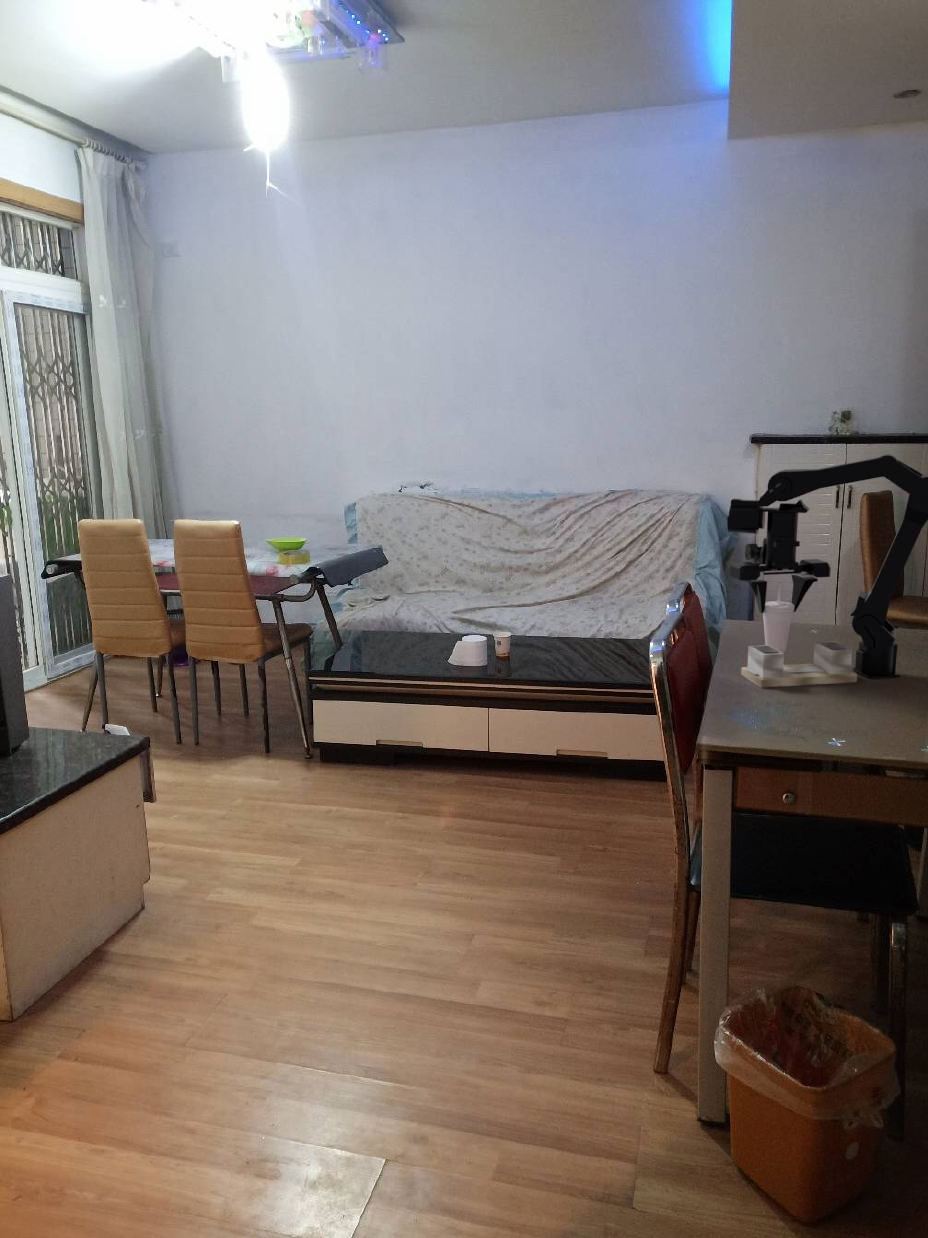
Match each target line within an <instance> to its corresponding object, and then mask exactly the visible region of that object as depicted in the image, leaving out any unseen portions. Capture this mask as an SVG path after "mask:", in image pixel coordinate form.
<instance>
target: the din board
mask: <svg viewBox="0 0 928 1238" xmlns="http://www.w3.org/2000/svg"><path fill="white" fill-rule="evenodd" d="M813 644H814V646H813V659H812V660H813V661H812V662H813V663H812V662H811V663H795V664H794V663H793V664H785V662H784V661H785V653H781V652H780V651H778V650H776V649H774V648H773V647H771V646H769V645H765V644H762V645H748V646H747V647H748V648H747V666H743V667H741V670H740V671H741V673H740V675H741V676H743V677H745V678H746V679H747V680H749V681H751V682H752V683H753V684H754V685H756V686H758V687H759V688H762V689H763V688H775V687H776V688H777V687H778V688H779V686H780V687H794V686H795V687H797V686H813V685H814V686H815V685H827V684H828V685H830V684H845V683H846V684H847V683H850V684H851V683H857V681H858V680H857V678H858V674H857V673H856V672H854V671H852V658H853V657H852V656H853V649H851V648H848V647H846V646H844V645H842V644H840V643H838V642H836V641H819V642H818V641H817V642H814V643H813Z"/></svg>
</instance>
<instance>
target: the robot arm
mask: <svg viewBox="0 0 928 1238" xmlns="http://www.w3.org/2000/svg"><path fill="white" fill-rule="evenodd" d="M877 478H886V479H887V480H889V482H891V484H894V486H897V487H898V488H900V489H901V490H903V491H904V492H905V493H907V494H908V497H907V501H906V502H907V503H906V506H905V510H904V514H903V519H902V520H901V523H900V526H899V527H898V530H897V532H896V535H895V537H894V539H893V542H892V543H891V546H890V548H889V550H888V552H887V555H886V557H885V559H884V562H883V563H882V566H881V568H880V569H879V573H878V575H877V577H876V579H875V581H874V583H873V586H872V587H871V588H870V590H869V591H868V592H867V593H866V592H864V591H862V590H860V592H859V594H858V599H857V602H856V604H855V605H854V606H853V607H852V608H851V612H850V614H849V615H850V617H852V620H851V628H852V629H853V631H854V632H855V633H856V635H858V636H860V638H861V640H862V641H858V649H856V651H855V652H856V653H855V666H854V667H852V671H853V672H855V673H858V674H860V675H862V676H864V677H866V678H867V679H882V678H883V679H884V678H897V677H898V678H899V677H901V674H900V673H899V672H897V671H896V670H897V659H898V658H897V657H898V645H899V644H898V643H897V642H895V640H896V634H897V629H896V628H895V626H893V625H892V624H891V623H890V622H889V621H888V619H887V615H888V612H889V607H890V604H891V603H890V602H891V599H892V595H893V593H894V591H895V588H896V587H897V584H898V582H899V580H900V577H901V575H902V573H903V571H904V568H906V564H907V562H908V560H909V557H910V556H911V553H912V552H913V549H914V547H915V544H916V542H917V540H918V538H919V536H920V533H921V531H922V530H923V528H924V526H925V525H926V524H927V522H928V474H923V473H921V472H919V471H918V470H916V469H915V468H913V467H911V466H909V465H907V464H906V463H904V462H903V461H900V460H899V459H898V458H897V457H896V456H895V455H892V454H889V453H888V454H886V453H885V454H883V455H880V456H878V457H872V458H867V459H862V460H857V461H853V462H846V463H843V464H842V463H841V464H837V465H832V466H827V467H823V468H811V469H810V468H808V469H807V468H802V469H801V468H798V469H797V468H796V469H793V468H791V469H783V470H779V471H778V472H776V473H774V474H773V475H772V476H771V477H770V478H769V479H768V482H767V490H766V491H765V492H764V494H762V495H761V496H760V497H759V499H741V498H732V499H731V500H730V506H729V511H728V515H727V517H726V520H727V521H726V524H727V525H726V528H727V532H728V533H729V534H751V535H752V534H753V535H755V534H756V535H757V534H758V533H759V531H760V530H764V529H765V524H766V519H767V525H766V537H764V538H763V540H762V546H758V543H747V544H745V548H744V549H745V550H744V558H745V560H746V561H741V562H739V561H738V562H736V561H735V562H733V563H732V564H731V566H730V567H729V576H730V577H731V578H734V579H736V580H738V581H744V582H746V583H748V585H749V586H750V587H751V591H752V592H753V596H754V598H755V601H756V605H757V608H758V611H759V613H760V614H763V613H764V610H765V602H767V601H766V600H767V599H766V598H767V589H768V588H767V586H768V581H767V580H764V576H769V575H790V576H791V579H792V595H791V602H790V603H792V604H794V609H795V610H794V611H793V612H792V613H795V612H797V610H798V608H799V606H800V604H801V603H802V601H803V599H804V597H805V595H806V594H807V592H808V591H809V590H810V588H811V587H812V585H813V583H815V582H818V581H819V579H818V578H831V572H832V571H831V570H832V569H831V568H832V567H831V565H830V563H828V562H827V561H825V560H820V559H818V558H815V559H814V558H813V559H811V558H809V559H801V560H800V562H799V561H796V560H797V559H796V557H797V547H800V543H801V541H800V540H798V527H799V525H798V524H799V514H807V513H808V512H809V510H810V507H808V506H807V505H806V504H805V503H804V502H803V499H799V500H798V501H797V502H796V503H793V502H792V503H791V502H790V503H789V501H790V500H794V499H796V498H799V497H802V496H804V495H807V494H810V493H811V492H814V491H817V490H819V489H824V488H830V487H836V486H840V485H846V484H851V483H856V482H862V481H866V480H873V479H877ZM787 501H788V502H787ZM776 502H780V503H779V506H778V507H770V506H771V505H773V504H774V503H776ZM781 502H783V503H781ZM784 502H785V503H784ZM766 513H767V518H766ZM751 561H753V562H751Z"/></svg>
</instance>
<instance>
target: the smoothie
mask: <svg viewBox="0 0 928 1238" xmlns="http://www.w3.org/2000/svg"><path fill="white" fill-rule="evenodd" d="M777 583H778V585H777V599H776V600H774V601H773V600H772V601H766V602H765V610H764V613H762V616H763V631H764V645H769V646H771V647H773V648H774V649H776V650H778V651H780V652H781V653H783V654H785V653H786V648H787V643H788V637H789V632H790V628H791V622H792V621H791V620H792V617H793V613H794V612H793V611H794V610H795V609H794V604H792V603H791V602H787V601H781V597H782V582H779V581H778V582H777Z"/></svg>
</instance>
